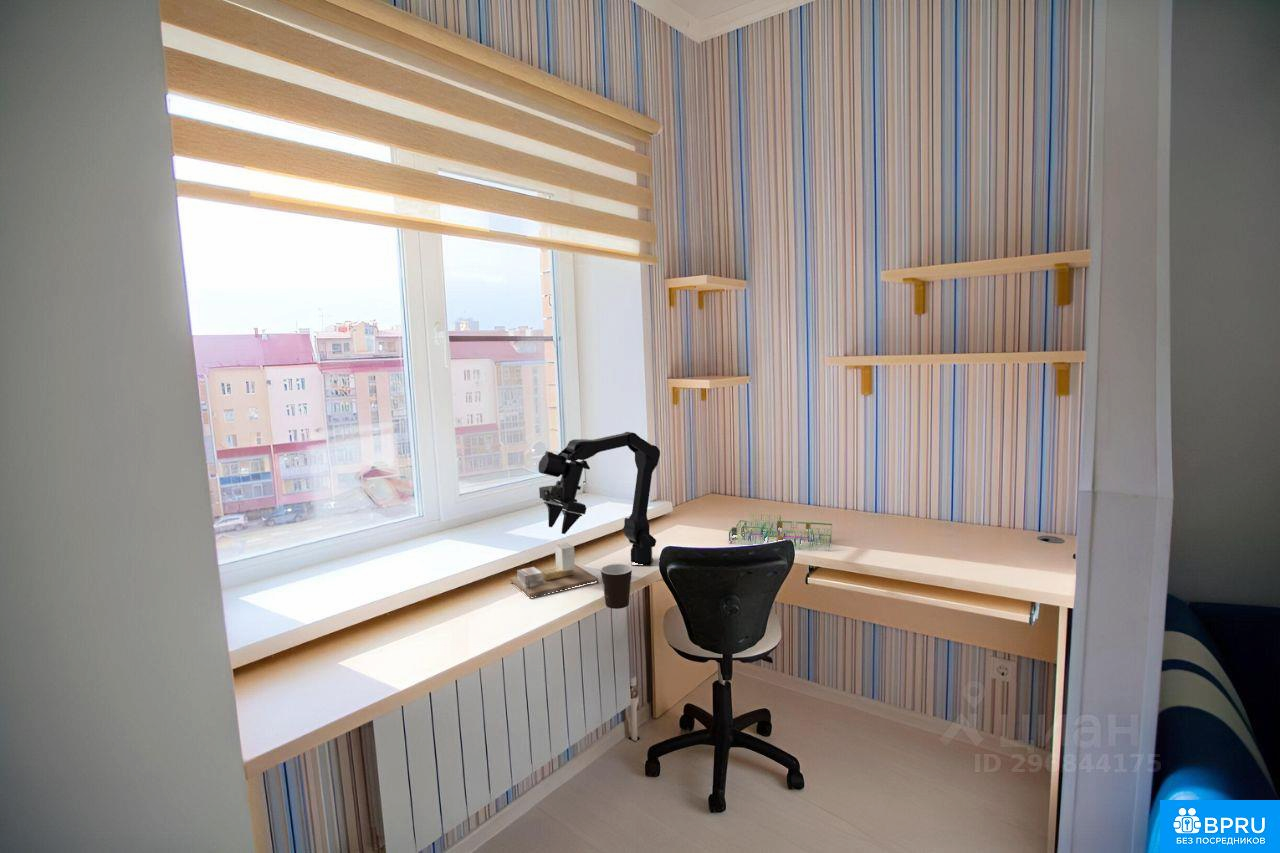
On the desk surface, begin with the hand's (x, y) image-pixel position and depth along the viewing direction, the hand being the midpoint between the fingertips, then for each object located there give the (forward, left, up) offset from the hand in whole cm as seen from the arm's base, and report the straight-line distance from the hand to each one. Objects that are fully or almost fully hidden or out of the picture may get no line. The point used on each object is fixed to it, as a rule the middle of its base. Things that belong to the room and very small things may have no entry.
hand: (556, 530), depth 192 cm
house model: (-71, -54, -17) cm, 91 cm away
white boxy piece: (0, 0, -14) cm, 14 cm away
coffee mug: (-21, +14, -16) cm, 30 cm away
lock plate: (+2, +2, -16) cm, 16 cm away
